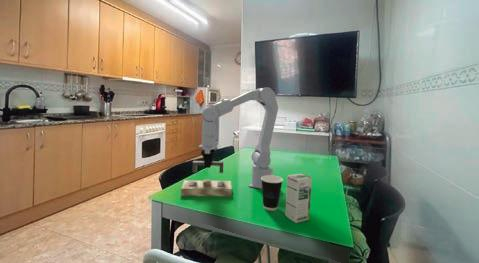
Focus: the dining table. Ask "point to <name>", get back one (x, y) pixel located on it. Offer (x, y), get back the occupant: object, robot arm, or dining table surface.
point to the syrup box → (298, 197)
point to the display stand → (206, 188)
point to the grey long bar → (213, 163)
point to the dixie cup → (271, 191)
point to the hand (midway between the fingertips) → (207, 166)
